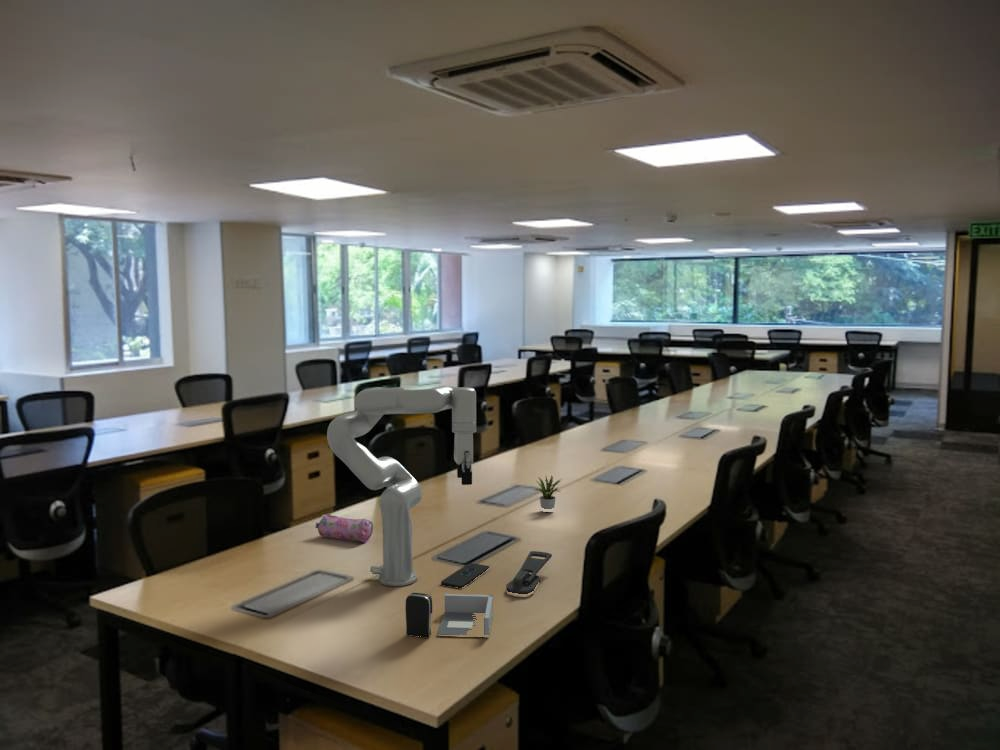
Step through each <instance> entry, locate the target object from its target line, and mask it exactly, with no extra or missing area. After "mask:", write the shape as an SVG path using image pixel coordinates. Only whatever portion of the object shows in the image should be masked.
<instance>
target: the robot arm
mask: <svg viewBox="0 0 1000 750" xmlns="http://www.w3.org/2000/svg"><path fill="white" fill-rule="evenodd" d="M476 391H477V390H475V388H473V387H468V386H467V387H466V386H465V387H464V386H462V387H460V386H459V387H456V386H451V385H440V386H436V387H432V388H424V389H404V388H403V387H399V386H397V387H396V386H395V387H381V386H380V387H379V386H377V387H372V388H366V389H363V390H361V391H359V392H358V393H357V394H356V396H355V398H354V407H355V409H356V410H354V411H353V412H348V413H345V414H342V415H338V416H336V417H334V419H332V420H331V422H330V423H329V425H328V427H327V431H326V439H327V443H328V446H329V448H330V449H331V451H332V453H334V455H335V456H336V457H337V458H339V460H341V462H343V463H344V464H345V465H346V466H347V467H348V469H349V470H350V471H351V473H353V474H354V475H355V476H356V477H357V478H358V479H359V481H361V483H362V484H363V485H364V486H365V487H366V488H368V489H369V490H372V491H377V490H380V489H383V488H384V487H386V489H384V490H383V492H382V493H381V495H380V499H379V509H380V514H381V520H382V521H381V522H382V523H381V524H382V563H383V564H382V565H380V566H375V565H370V571H369V572H370V573H372V575H378V582H379V583H380V584H382V585H385V586H388V587H389V586H390V587H403V586H408V585H411V584H413V583H415V582H416V581H417V580H418V574H417V573H416V572H414V571H413V524H412V523H413V521H412V518H411V514H410V509H412V508H414V507H415V506H417V505H418V504H419V503H420V502H421V500H422V498H423V489H422V486H421V485H420V483H419V482H418V480H417V479H415V477H414V476H413V475H412V474H411V473H410V472H409V471H408V470H407V469H406V468H405V467H404V466H403V465H402V464H401V463H400V462H399V461H398V460H397V459H395V458H393V457H391V456H381V457H378V458H377V457H376V456H375V455H374V454H373V453H372V452H371V451H370V450H369V449H368V448H367V447H366V446H364V445H363V444H361V443H360V442H358V441H356V439H357V438H359V437H362V436H364V435H366V434H367V433H369V432H370V431H372V429H373V427H374V426H376V424H377V423H378V422H379V420H381V419H382V417H383V416H384V415H397V414H398V415H400V414H401V415H405V414H406V415H409V414H410V415H416V414H417V415H418V414H421V415H422V414H436V413H439V412H441V411H446V410H450V409H451V432H452V433H454V440H453V441H454V443H453V444H454V445H453V446H454V447H453V448H454V449H453V460H454V462H455V463H456V465H457V466H456V468H457V469H456V472H457V473H456V474H457V475H456V476H457V478H458V479H461V485H462V486H466V485H467V486H469V485H472V484H473V471H472V470H473V469H472V464H473V463H474V434H475V433H477V392H476ZM355 438H356V439H355Z"/></svg>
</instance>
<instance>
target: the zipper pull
mask: <svg viewBox="0 0 1000 750" xmlns="http://www.w3.org/2000/svg"><path fill="white" fill-rule="evenodd" d="M552 555H553V554H552V553H549V552H545V551H538V550H537V551H535V550H533V551H529V553H528V555H527V557H526V558H525V560H524V562H523V564H522V565H521V567H520V569H519V570H518V572H517V573H516V575H515V576H514V578H513V579H512V580H510V581H509V582H508V583H506V584H505V585H506V586H505V588H506V590H507V591H508V592H512V593H518V594H528V593H530V592H532V591H534V589H535V587H536V585H537V584H538V582H539V580H540V581H541V577H540V576H539V575H537V574H538V573H539V571H540V570H541V569H542V568H543V567H544V566H545V565H546V564H547V563H548V562H549V560H551V558H552V557H553V556H552ZM536 557H538V558H536Z"/></svg>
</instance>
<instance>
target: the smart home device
mask: <svg viewBox="0 0 1000 750" xmlns="http://www.w3.org/2000/svg"><path fill="white" fill-rule="evenodd" d="M489 567H491V566H490V565H485V564H479V563H474V562H469V563H467V564H465V565H464V566H461V568H460V569H457V570H456V571H454V572H453V573H451V574H450V575H448V576H447V577H446V578H444V579H442V580H441V581H440V586H442V585H445V586H444V587H447V586H451V587H450V588H452V587H458V588H462V587H464V586H465V585H467V584H469V583H470V582H471V581H473V580H474V579H475V578H476V577H478V576H479V575H481V574H482V573H483V572H485V571H486V570H487V569H488V568H489ZM473 582H474V581H473ZM470 584H471V583H470ZM470 584H469V585H470ZM467 586H468V585H467ZM458 588H457V589H458Z"/></svg>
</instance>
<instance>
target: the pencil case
mask: <svg viewBox="0 0 1000 750" xmlns="http://www.w3.org/2000/svg"><path fill="white" fill-rule="evenodd" d="M320 517H322V518H321V519H320V521H319V522H316V523H315V528H316V529H317V531H318V534H319V536H321V537H323V536H325V538H330V539H334V540H340V539H341V541H342V540H344V541H346V540H347V541H355V542H362V543H364V542H365V543H367V542H368V541H369V540H371V537H372V535H373V530H374V524H373V522H372V521H371V520H369V519H366V518H357V519H356V518H346V517H342V516H341V517H340V516H338V515H332V514H330V513H329V514H322V515H320ZM366 541H367V542H366Z"/></svg>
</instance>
